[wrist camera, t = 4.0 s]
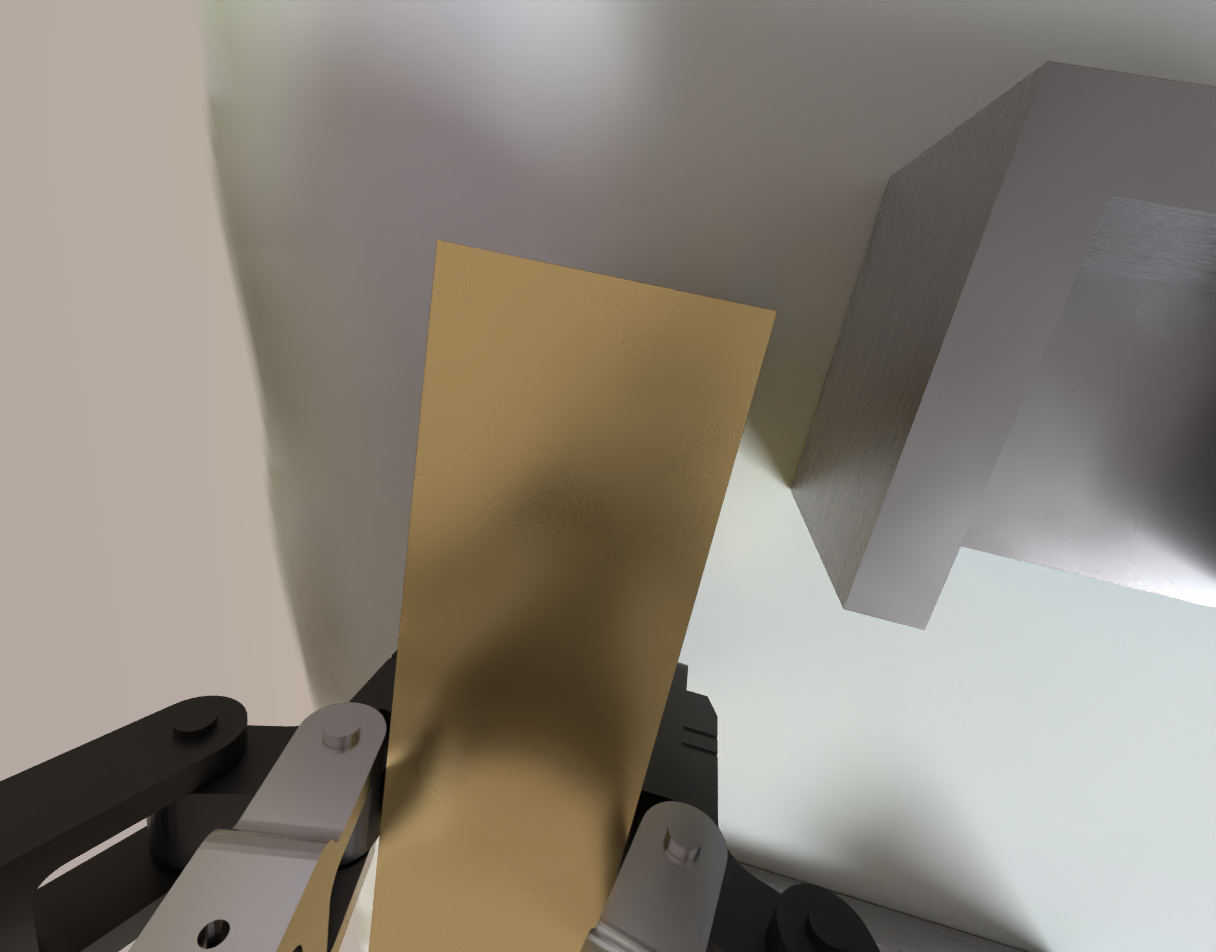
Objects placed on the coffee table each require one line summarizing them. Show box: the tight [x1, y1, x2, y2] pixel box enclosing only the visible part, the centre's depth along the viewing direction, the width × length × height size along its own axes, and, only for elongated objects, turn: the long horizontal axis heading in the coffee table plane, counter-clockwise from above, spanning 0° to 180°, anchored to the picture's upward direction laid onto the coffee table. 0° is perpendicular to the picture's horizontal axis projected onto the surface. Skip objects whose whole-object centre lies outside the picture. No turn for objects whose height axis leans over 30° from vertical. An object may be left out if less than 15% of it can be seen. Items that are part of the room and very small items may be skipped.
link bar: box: [369, 240, 777, 952], centre depth 11 cm, size 16×4×5 cm, turn 169°
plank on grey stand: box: [738, 61, 1216, 952], centre depth 11 cm, size 22×10×5 cm, turn 169°
